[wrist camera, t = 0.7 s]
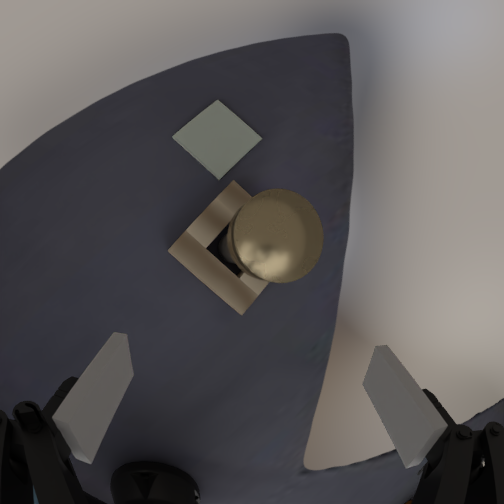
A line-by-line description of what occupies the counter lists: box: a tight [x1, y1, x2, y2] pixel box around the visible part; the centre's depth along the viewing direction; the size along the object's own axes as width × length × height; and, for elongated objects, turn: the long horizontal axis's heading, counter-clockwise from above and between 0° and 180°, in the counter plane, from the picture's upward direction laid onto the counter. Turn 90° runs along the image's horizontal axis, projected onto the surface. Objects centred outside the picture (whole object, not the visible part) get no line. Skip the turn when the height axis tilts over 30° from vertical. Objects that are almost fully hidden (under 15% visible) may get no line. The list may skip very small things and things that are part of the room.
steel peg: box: [218, 189, 323, 283], centre depth 29 cm, size 7×7×17 cm
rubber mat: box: [173, 100, 262, 180], centre depth 37 cm, size 9×9×1 cm
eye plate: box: [168, 180, 269, 315], centre depth 36 cm, size 12×12×2 cm
